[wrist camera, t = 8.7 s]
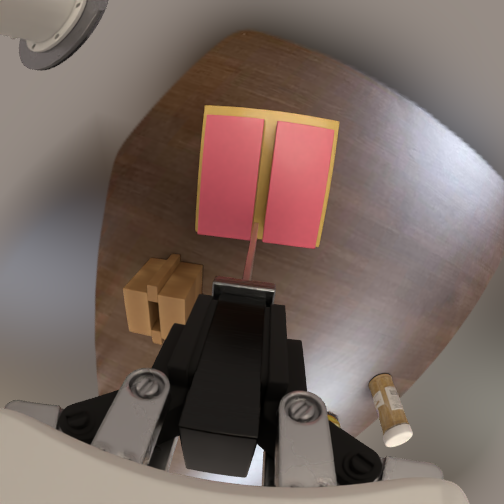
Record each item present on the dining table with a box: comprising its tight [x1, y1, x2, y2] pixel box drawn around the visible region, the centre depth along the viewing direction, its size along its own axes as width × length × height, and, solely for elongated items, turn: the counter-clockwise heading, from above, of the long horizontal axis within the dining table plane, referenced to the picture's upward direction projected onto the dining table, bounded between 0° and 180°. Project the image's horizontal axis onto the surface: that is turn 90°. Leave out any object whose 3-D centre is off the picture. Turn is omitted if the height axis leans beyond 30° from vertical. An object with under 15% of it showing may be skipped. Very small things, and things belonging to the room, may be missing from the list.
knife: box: [178, 223, 276, 477], centre depth 13 cm, size 2×4×16 cm, turn 173°
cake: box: [195, 105, 339, 249], centre depth 28 cm, size 15×15×5 cm
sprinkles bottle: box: [369, 374, 413, 447], centre depth 36 cm, size 5×5×14 cm
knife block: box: [123, 254, 203, 345], centre depth 33 cm, size 7×8×8 cm
